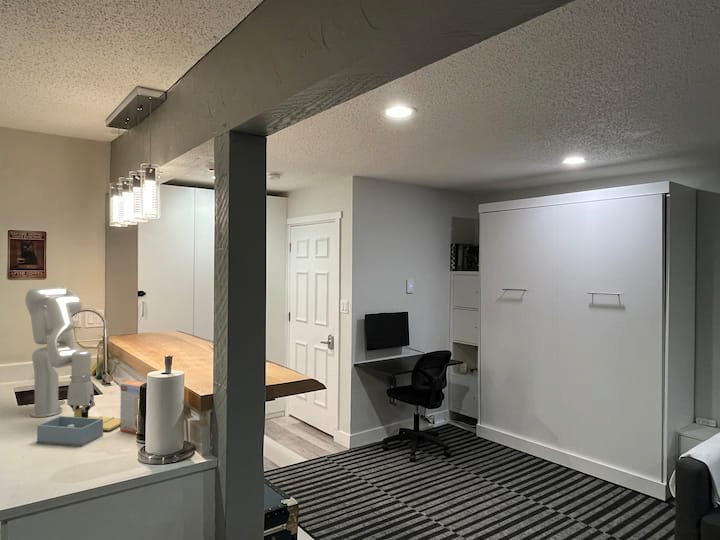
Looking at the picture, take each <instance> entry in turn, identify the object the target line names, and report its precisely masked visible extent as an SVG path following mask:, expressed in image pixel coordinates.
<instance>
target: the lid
mask: <svg viewBox="0 0 720 540" xmlns="http://www.w3.org/2000/svg"><path fill="white" fill-rule="evenodd" d="M82 412H83V407H82V406H80V408H78V409H76V410H74V412H73V417H82ZM88 418H96V419H103V431H111V430H113V429H114V428H116V427H120V417H119V418H118V417H106V416H105V417H104V416H102V415H101V416H89V415H88Z"/></svg>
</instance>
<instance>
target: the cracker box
mask: <svg viewBox="0 0 720 540" xmlns="http://www.w3.org/2000/svg"><path fill="white" fill-rule="evenodd" d="M144 383H145V382H142V381H137V380H136V381H135V380H128V381H124V382H121V383H120V405H119V406H120V411H119V413H120V415H119V418H120V425H119V429H120V430H119V431H120V432H124V433H125V432H126V433H130V434H134V435H137V434H136V432H137V415H138V399H139V389H140V386H141V385H142V384H144Z"/></svg>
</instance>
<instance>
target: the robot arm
mask: <svg viewBox="0 0 720 540" xmlns="http://www.w3.org/2000/svg"><path fill="white" fill-rule="evenodd" d="M82 303H83V302H82V300H81V298H80V297H79V296H78V295H77V294H76V293H75V292H74V291H72V290H71V289H69V288H68V287H65V286H52V287H51V286H49V287H48V286H47V287H46V286H45V287H43V286H42V287H34V288H32V289H29V290H28V291H27V292H26V295H25V306H26V308H27V310H28V313H29V316H30V321H31V329H32V336H33V341H34V342H35V344H37V345H46V346H44V347H40V348H37V349H35V350H34V352H32V354H31V361H32V365H33V373H34V410H33V411H31V412H30V416H31V417H33V418H46V417H47V416H48V417H53V416H55V415H59V414H61V413H62V412H63V408H62V407H61V406H63V405H65V404H66V405H68V406H69V407H70V408H71V409H72V412H73V413H74V410H76V409H78V408H81V407H83V412H82V418H88V416H89V411H90V409H91V408H93V407H95V406H96V403H95V392H94V391H95V390H94V384H93V381H92V353H91V351H89V350H86V349H85V350H84V349H83V348H80V347H75V345H74V339H73V337H74V336H73V331H72V330H73V329H74V327H75V322H74V320H73V316H72V314H74V313H75V314H76V313H80V311H81V310H82V307H83V304H82ZM70 366H71V373H70V374H71V375H70V376H69V379H71V380H70V382H69V384H68V389H67V396H66V397H67V398H66V399H67V400H64V399H63V400H60V401H59V373H58V372H57V371H56V370H55V369H54V368H57V369H59V368H67V367H70ZM66 402H67V403H66ZM52 415H53V416H52Z"/></svg>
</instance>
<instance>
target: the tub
mask: <svg viewBox="0 0 720 540" xmlns="http://www.w3.org/2000/svg"><path fill="white" fill-rule="evenodd" d="M103 435H104V430H103V419H96V418H82V417H74V416H66V415H65V416H63V415H58V416H57V417H54V418H52V419H49V420H48V421H45V422H42V423H40V424H37V426H36V443H38V444H45V443H49V444H48V445H58V444H62V446H71V445H79V446H78V447H84V446H86V445H88V444H89V442H90V443H92V442H94V441H95V440H97V439H100V438H101V437H103ZM91 441H92V442H91ZM87 443H88V444H87ZM85 444H86V445H85ZM83 445H84V446H83Z"/></svg>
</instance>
